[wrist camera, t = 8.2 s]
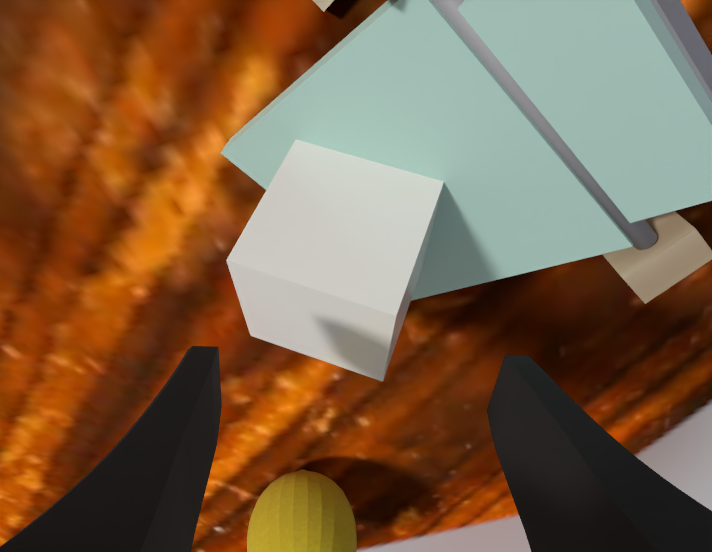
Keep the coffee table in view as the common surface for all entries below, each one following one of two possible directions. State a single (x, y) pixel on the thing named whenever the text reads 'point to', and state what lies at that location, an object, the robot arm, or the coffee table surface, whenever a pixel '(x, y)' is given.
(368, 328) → the white cube
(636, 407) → the coffee table surface
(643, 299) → the frame
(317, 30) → the coffee table surface
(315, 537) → the lemon
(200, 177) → the coffee table surface
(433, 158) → the trapdoor
